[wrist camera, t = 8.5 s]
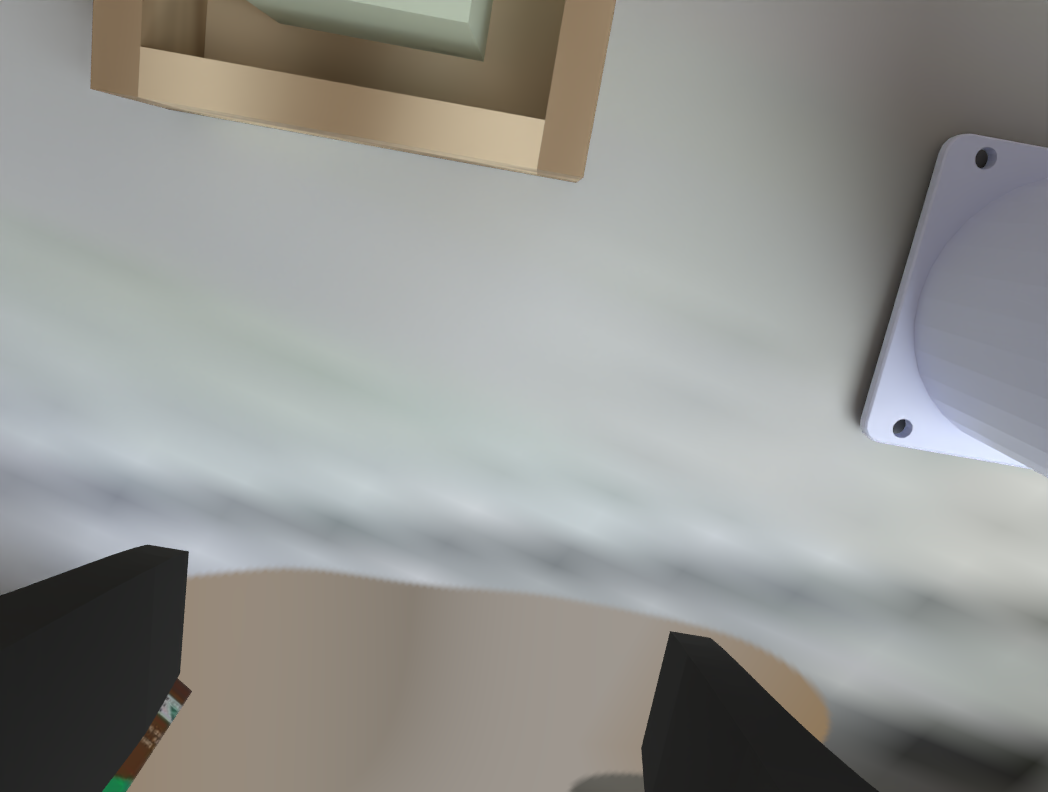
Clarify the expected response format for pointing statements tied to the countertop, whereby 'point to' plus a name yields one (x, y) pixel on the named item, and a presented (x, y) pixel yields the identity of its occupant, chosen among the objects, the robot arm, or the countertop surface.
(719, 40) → the countertop surface
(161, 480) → the countertop surface
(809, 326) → the countertop surface
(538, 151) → the box
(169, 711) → the food container
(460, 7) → the sage crate
